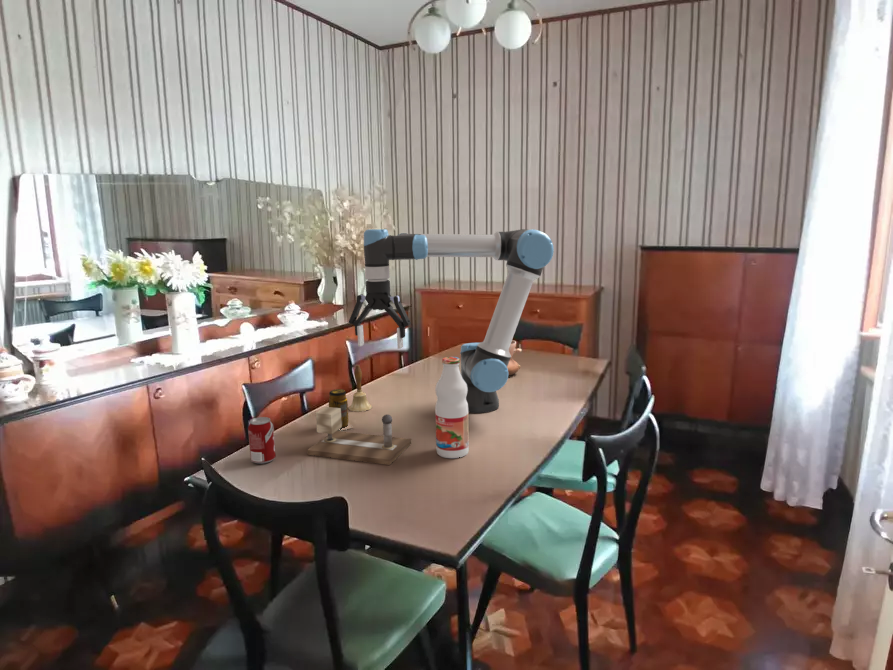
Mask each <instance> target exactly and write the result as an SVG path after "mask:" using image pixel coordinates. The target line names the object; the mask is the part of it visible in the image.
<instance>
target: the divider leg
mask: <svg viewBox="0 0 893 670" xmlns="http://www.w3.org/2000/svg"><path fill="white" fill-rule="evenodd" d="M315 421H316V425H315V426H316V433H318V434H319V433H320V434H326V435H328V439H332V434H333V433H334V432H336V431H337V430H339V429H340V428H341V427H342V421H341V408H333V407H329V406H325V407H324V408H322V409H320V410H319V411H317V412H316V413H315Z"/></svg>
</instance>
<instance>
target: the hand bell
mask: <svg viewBox="0 0 893 670" xmlns="http://www.w3.org/2000/svg"><path fill="white" fill-rule="evenodd" d="M353 374H354V378H355V379H354V380H355V382H356V392H355V393H353V396H352V401H351V404H349V405H348V411H350V412H353V411H354V413H363V412H362V411H364V412H366V410H368V411H371V410H372V409H373V407H372V404H370V402H369V401H368V398H367V394H366V392H364V391H363V389H362V378H363V372H362V368H361V366H360V364H356V365H355V369H354V373H353Z"/></svg>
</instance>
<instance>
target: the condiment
mask: <svg viewBox="0 0 893 670" xmlns="http://www.w3.org/2000/svg"><path fill="white" fill-rule="evenodd" d="M346 393H347V392H346V390H345V389H342V388H341V389H340V388H338V389H337V388H336V389H332V390H330V391H329V394H328V395H329V399H328V407H333V408H341V421H342V427H341V428H340V430H341V429H342V428H345V427H347V426H348V423H349V404H348V398H347V395H346ZM350 428H351V427H350ZM340 430H337V431H340ZM341 431H343V430H341ZM346 431H348V430H347V429H346ZM343 432H344V431H343Z"/></svg>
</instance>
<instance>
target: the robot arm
mask: <svg viewBox="0 0 893 670" xmlns="http://www.w3.org/2000/svg"><path fill="white" fill-rule="evenodd" d="M554 253H555V251H554V244H553V241H552V239H551V237H549V235H548V234H546V233H545V232H543V231H540V229H539V230H537V229H528V228H527V229H526V228H525V229H524V228H523V229H516V230H508V231H507V230H506V231H495V232H494V233H493V234H475V233H474V234H472V233H471V234H470V233H469V234H466V233H464V234H463V233H461V234H458V233H450V234H449V233H445V234H444V233H398V234H397V235H390V234H389V231H388V229H387V228H384V229H383V228H379V229H377V228H376V229H375V228H374V229H366V230H365V231H363V256H364V257H363V258H364V274H365V275H364V278H365V280H366V281H365V292H366V295H364V294H358V295H356V303H355V305H354V308H353V310H352V311H351V312H352V313H351V315H350V318H349V320H348V323H349V324H351V325H353V326H354V335H355V336H357V347H363V346H364V345H365V339H364V338H365V337H364V335H365V334H364V324H362V323H363V321H364V320H365V319H366V318H367V316H368V315H369V313H370V312H371V311H372V310H373V311H376V310H379V311H383V310H384V311H385V312H386V313H387V314H388V315H389V316H390V318H391V319H392V320H393V321H394V323H395V324H396V325H397V326H398V327H397V328H396V338H397V339H396V340H397V341H396V342H397V343H396V346H397V349H398V350H399V349H400V350H401V349H402V348H404V339H405V337H406V327H408V326H411V324H412V322H411V320H410V318H409V316H408V314H407V311H406V310H405V308H404V305H403V303H402V301H401V296H400V295H398V294H397V295H394V296H391V282H390V277H391V275H390V274H391V273H390V261H396V260H398V261H399V260H400V261H402V260H405V261H406V260H415V261H418V260H425V259H427V258H428V257H429V258H431V257H432V258H444V257H445V258H493V259H494V260H495V261H505V262H506V264H505V266H506V269H507V275H506V277H505V281H504V283H503V286H502V289H501V291H500V295H499V298H498V300H497V303H496V306H495V309H494V311H493V314H492V316H491V320H490V322H489V326H488V328H487V330H486V334H485V337H484V339H483V341H481V342H468V343H463V344H462V345H461V346H460V353H459V354H460V373H461V376H462V378H463V380H464V381H465V382H466V384H467V388H468V391H467V396H466V401H467V403H468V413H474V414H475V413H478V414H480V413H483V414H484V413H489V412H493V411H495V410H497V409H499V406H500V399H499V397H498V394H497V391H499V390H501V389H503V387H504V386H505V385H506V383H507V382H508V379H509V376H508V368H507V366H508V364H509V361H510V358H511V355H510V353H509V347H510V344H511V342H512V340H513V338H514V335H515V333H516V330H517V327H518V325H519V322H520V319H521V317H522V313H523V312H524V311H523V310H524V308H525V306H526V303H527V300H528V297H529V296H530V295H529V294H530V291H531V288H532V286H533V283H534V281H535V280H536V279H539V278H540V277H541V275H542V273H543V270H544V267H546V266H547V265H549V263H550V262H551V260H552V259H553V257H554ZM364 302H366V303H367V305H365V308H364V309H363V310H362V312H361V309H362V307H363V304H364ZM391 302H392V303H393V304H394V306H393V305H392V304H391ZM394 307H395V309H396V310H395V309H394ZM396 311H397V312H398V313H397V312H396ZM360 312H361V314H360ZM359 314H360V315H359Z"/></svg>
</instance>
